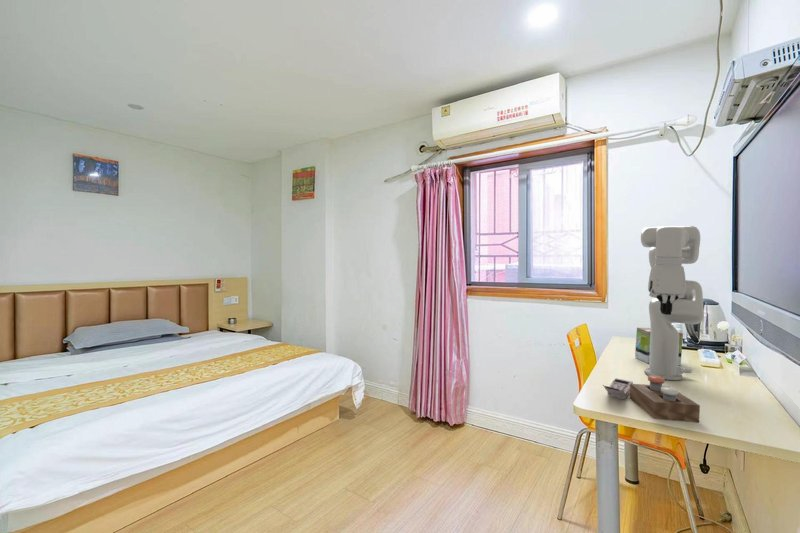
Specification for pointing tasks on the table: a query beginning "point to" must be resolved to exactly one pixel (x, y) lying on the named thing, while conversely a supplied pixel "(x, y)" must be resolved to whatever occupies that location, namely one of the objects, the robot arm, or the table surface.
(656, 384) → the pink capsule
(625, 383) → the mobile phone
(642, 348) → the tea box
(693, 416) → the block
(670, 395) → the white light bulb
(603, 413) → the table surface
